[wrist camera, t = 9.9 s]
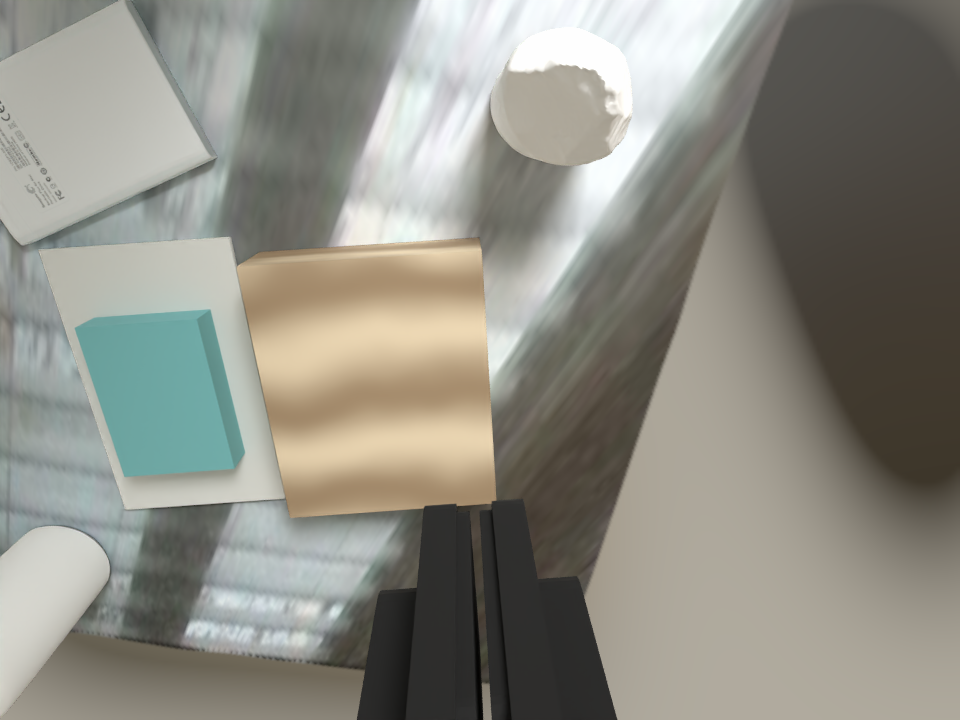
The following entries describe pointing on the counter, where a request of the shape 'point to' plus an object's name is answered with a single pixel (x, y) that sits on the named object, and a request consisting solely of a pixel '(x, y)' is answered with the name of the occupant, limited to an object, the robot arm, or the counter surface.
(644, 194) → the counter surface
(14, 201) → the external hard drive
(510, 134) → the white tall lump
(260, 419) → the mat
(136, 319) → the teal sticky note pad
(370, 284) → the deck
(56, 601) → the can
